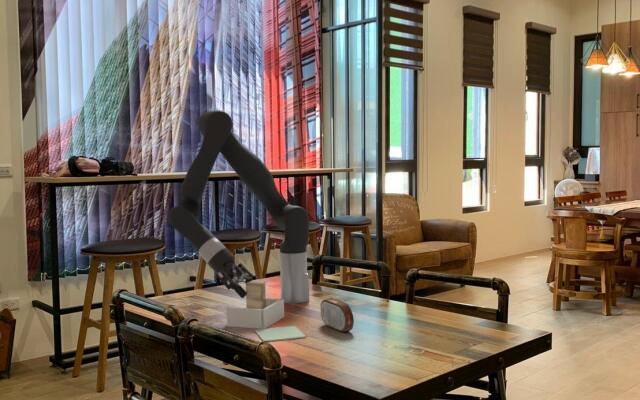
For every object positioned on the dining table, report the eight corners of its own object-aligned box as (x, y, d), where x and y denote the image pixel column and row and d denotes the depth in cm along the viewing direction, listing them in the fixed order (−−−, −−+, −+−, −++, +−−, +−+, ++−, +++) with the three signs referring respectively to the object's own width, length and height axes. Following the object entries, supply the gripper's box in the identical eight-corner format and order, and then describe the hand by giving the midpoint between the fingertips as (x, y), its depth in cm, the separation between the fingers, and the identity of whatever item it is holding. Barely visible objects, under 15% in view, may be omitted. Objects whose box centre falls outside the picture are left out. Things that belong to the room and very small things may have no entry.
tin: (354, 333, 189) (354, 304, 189) (345, 335, 188) (344, 305, 187) (328, 322, 202) (327, 295, 202) (319, 324, 201) (318, 296, 200)
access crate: (225, 327, 201) (224, 307, 201) (246, 315, 215) (246, 297, 215) (265, 330, 197) (264, 310, 196) (284, 317, 211) (283, 299, 210)
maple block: (252, 312, 209) (251, 280, 208) (266, 313, 207) (265, 281, 206) (246, 315, 204) (245, 283, 204) (260, 316, 203) (259, 284, 202)
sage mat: (294, 327, 198) (294, 325, 198) (305, 337, 186) (305, 336, 186) (254, 331, 194) (254, 329, 194) (263, 342, 183) (263, 340, 183)
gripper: (212, 250, 201) (248, 289, 198) (234, 244, 214) (268, 280, 211) (197, 267, 203) (233, 306, 200) (219, 259, 216) (253, 296, 213)
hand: (251, 293), depth 206 cm, fingers open, 8 cm apart
